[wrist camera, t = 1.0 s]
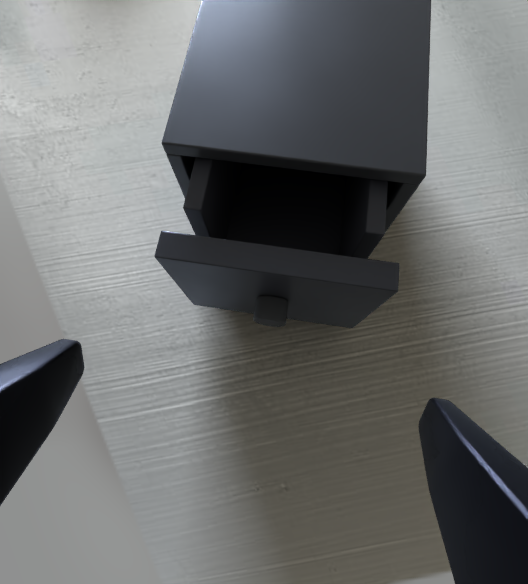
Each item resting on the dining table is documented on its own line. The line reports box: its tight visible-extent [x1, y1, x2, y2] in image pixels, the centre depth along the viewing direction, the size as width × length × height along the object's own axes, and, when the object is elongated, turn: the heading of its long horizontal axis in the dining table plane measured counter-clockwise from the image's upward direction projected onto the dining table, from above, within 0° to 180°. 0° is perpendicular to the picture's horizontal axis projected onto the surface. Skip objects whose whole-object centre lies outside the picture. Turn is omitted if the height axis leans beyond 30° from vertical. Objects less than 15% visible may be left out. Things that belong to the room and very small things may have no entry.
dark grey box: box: [162, 0, 431, 232], centre depth 20 cm, size 12×11×9 cm
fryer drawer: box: [155, 157, 399, 328], centre depth 19 cm, size 12×10×8 cm
